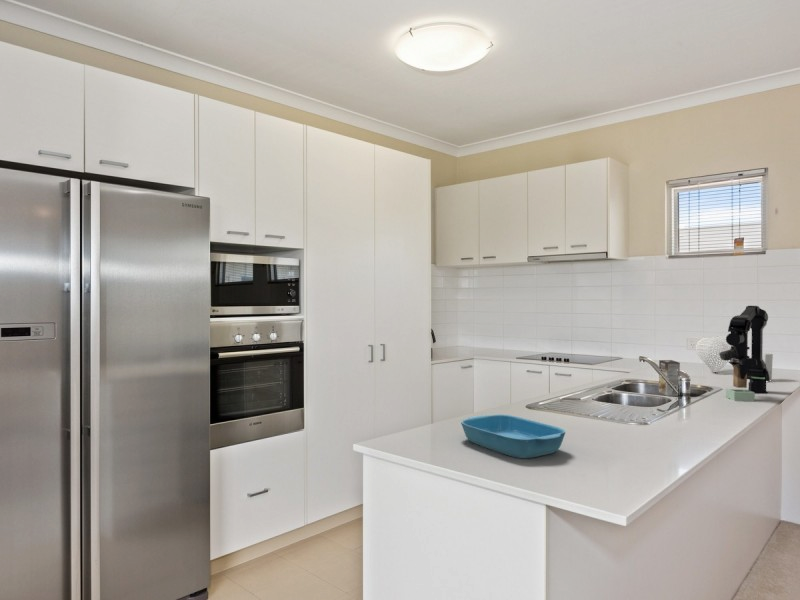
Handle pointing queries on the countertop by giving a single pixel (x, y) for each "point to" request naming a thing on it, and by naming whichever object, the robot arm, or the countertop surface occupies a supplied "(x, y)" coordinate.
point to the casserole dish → (513, 435)
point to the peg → (738, 378)
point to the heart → (712, 351)
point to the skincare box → (768, 363)
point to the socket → (740, 394)
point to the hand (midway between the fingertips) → (740, 378)
